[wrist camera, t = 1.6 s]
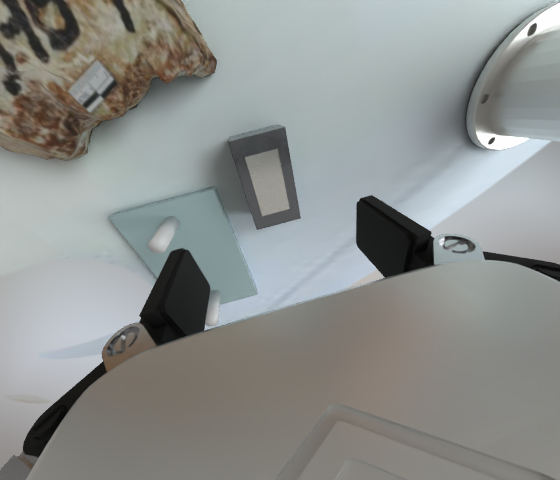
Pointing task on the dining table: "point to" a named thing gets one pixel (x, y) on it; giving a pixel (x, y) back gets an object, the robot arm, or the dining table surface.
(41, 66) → the stone
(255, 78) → the dining table surface
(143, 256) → the grey-green peg board
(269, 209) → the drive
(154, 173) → the dining table surface
